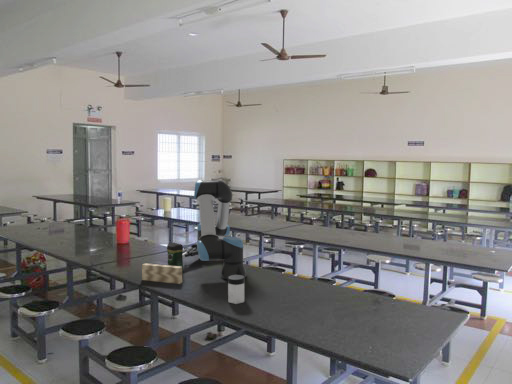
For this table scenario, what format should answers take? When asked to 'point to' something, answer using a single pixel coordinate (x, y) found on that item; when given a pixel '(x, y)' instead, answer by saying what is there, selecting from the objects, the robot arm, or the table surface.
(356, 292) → the table surface
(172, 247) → the coffee jar
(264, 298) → the table surface
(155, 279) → the wooden block
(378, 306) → the table surface
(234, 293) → the jar
